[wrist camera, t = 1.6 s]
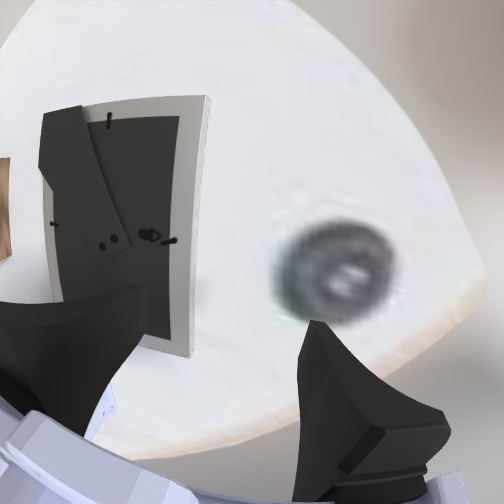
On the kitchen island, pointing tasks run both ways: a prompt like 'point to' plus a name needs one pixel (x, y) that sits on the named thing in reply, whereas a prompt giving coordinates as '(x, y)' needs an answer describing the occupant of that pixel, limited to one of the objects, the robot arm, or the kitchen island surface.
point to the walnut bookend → (4, 209)
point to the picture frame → (127, 205)
